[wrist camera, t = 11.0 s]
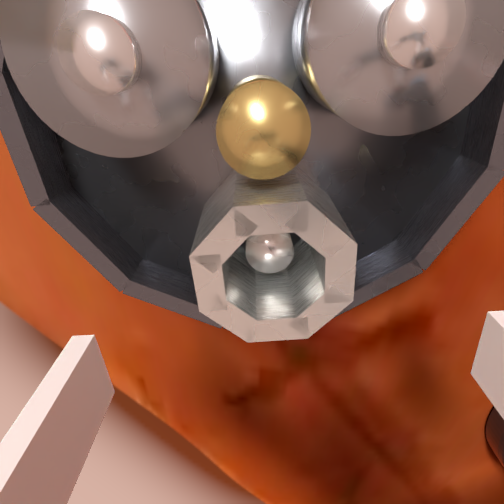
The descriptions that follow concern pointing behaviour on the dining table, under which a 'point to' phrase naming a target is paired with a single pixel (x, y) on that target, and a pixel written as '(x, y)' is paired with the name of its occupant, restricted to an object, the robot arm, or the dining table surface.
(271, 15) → the carrier
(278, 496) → the dining table surface
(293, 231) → the octagonal hollow container
